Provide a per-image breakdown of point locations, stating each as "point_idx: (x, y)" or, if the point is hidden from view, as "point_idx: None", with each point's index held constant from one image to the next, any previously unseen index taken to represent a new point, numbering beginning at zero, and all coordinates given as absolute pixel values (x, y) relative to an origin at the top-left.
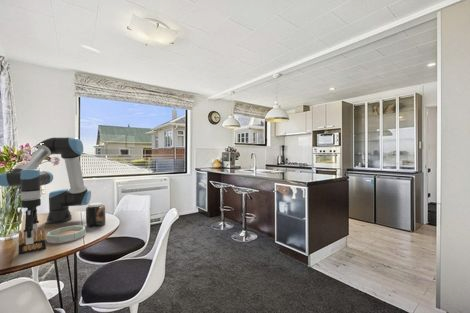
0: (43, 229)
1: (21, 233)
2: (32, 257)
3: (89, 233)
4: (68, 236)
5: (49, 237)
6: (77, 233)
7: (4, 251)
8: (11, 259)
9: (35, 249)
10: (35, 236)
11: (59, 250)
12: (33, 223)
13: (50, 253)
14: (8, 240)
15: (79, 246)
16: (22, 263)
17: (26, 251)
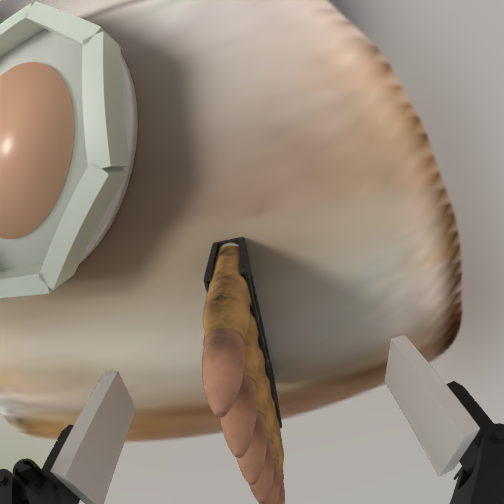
0: (242, 369)
1: (279, 497)
2: (382, 283)
3: None
4: (112, 79)
5: (70, 261)
6: (87, 22)
7: (168, 439)
8: (334, 384)
9: (258, 308)
10: (259, 384)
11: (342, 122)
12: (70, 497)
13: (375, 179)
14: (31, 428)
15: (320, 2)
16: (437, 305)
17: (268, 354)
